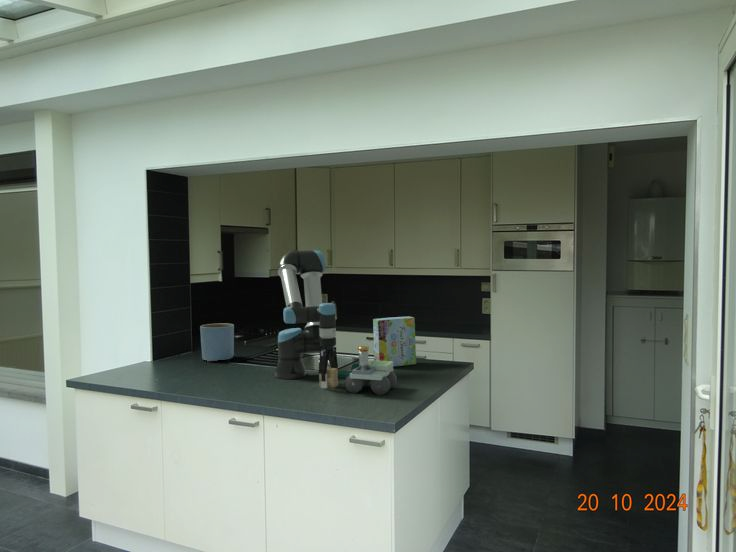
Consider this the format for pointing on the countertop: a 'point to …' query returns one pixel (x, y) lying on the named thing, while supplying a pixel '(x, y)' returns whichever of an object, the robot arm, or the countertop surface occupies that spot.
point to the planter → (217, 341)
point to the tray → (381, 365)
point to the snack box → (395, 340)
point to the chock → (331, 377)
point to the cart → (363, 378)
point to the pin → (363, 358)
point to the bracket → (346, 373)
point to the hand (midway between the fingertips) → (328, 385)
